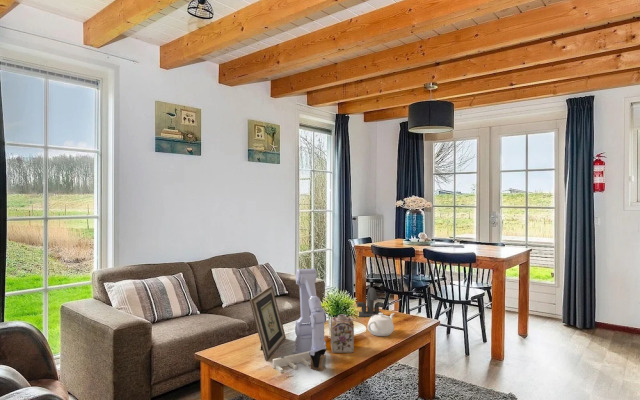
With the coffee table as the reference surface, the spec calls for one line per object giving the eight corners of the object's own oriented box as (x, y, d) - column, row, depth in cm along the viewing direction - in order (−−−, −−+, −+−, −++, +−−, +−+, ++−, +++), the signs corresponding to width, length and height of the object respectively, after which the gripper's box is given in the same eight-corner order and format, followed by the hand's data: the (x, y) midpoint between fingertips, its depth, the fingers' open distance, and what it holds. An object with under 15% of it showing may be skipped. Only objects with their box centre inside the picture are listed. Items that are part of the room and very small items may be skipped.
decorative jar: (351, 345, 232) (352, 312, 232) (354, 353, 221) (354, 318, 221) (330, 345, 232) (330, 312, 232) (331, 353, 220) (331, 318, 220)
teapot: (378, 341, 238) (379, 319, 238) (357, 334, 250) (358, 313, 249) (404, 331, 256) (404, 311, 256) (383, 325, 267) (384, 306, 267)
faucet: (360, 320, 278) (360, 290, 277) (356, 313, 293) (356, 285, 293) (387, 320, 279) (387, 289, 279) (381, 313, 295) (382, 284, 295)
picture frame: (267, 360, 210) (267, 300, 210) (248, 359, 212) (248, 299, 212) (286, 338, 242) (286, 286, 242) (269, 337, 244) (269, 285, 244)
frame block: (310, 369, 200) (310, 356, 200) (313, 365, 204) (314, 353, 204) (322, 371, 198) (322, 358, 198) (325, 367, 202) (325, 355, 202)
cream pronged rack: (272, 367, 202) (272, 357, 202) (315, 357, 214) (315, 348, 214) (279, 373, 195) (279, 363, 195) (323, 362, 208) (323, 353, 208)
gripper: (319, 342, 193) (319, 372, 193) (331, 333, 206) (331, 361, 206) (305, 340, 195) (305, 370, 196) (318, 331, 209) (318, 358, 209)
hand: (318, 365), depth 201 cm, fingers closed on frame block, 4 cm apart
